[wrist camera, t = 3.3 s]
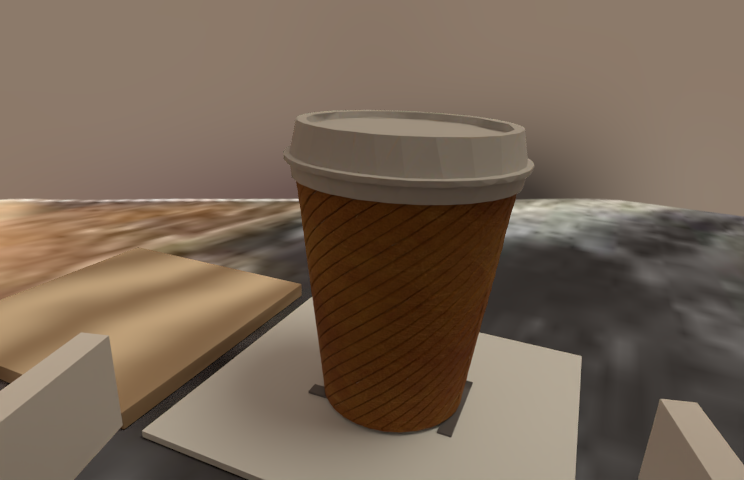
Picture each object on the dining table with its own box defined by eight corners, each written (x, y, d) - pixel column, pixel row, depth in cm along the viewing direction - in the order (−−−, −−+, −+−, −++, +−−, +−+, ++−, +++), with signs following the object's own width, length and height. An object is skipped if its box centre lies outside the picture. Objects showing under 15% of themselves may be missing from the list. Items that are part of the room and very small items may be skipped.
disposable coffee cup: (511, 480, 18) (567, 147, 14) (257, 446, 19) (243, 128, 15) (488, 343, 27) (519, 115, 23) (316, 325, 28) (316, 105, 24)
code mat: (580, 361, 26) (581, 354, 26) (566, 608, 14) (568, 598, 14) (314, 298, 32) (315, 293, 32) (142, 437, 20) (141, 428, 20)
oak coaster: (301, 295, 33) (301, 284, 32) (124, 429, 20) (121, 413, 20) (139, 257, 38) (138, 247, 37) (-81, 346, 25) (-86, 332, 25)
